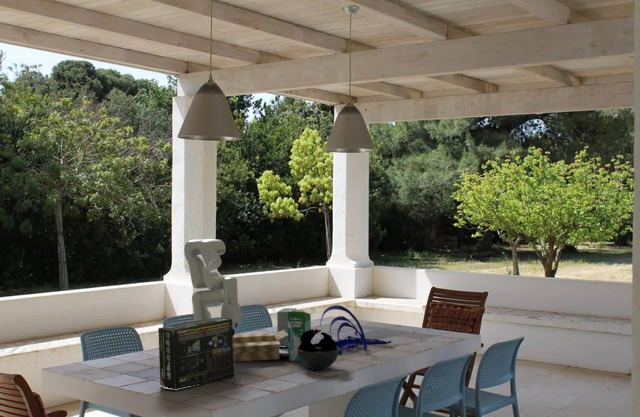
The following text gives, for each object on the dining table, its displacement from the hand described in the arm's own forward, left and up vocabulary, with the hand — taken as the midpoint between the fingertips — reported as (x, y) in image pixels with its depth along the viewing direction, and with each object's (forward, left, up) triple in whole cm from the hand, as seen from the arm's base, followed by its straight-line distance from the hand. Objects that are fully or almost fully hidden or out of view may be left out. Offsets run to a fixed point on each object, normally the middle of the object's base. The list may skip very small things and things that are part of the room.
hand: (231, 336), depth 385 cm
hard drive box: (+32, +25, -11) cm, 43 cm away
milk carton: (+33, -13, -11) cm, 38 cm away
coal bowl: (+38, -37, -11) cm, 54 cm away
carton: (+11, 0, -11) cm, 16 cm away
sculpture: (+63, +10, -12) cm, 65 cm away
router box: (-19, -48, -11) cm, 52 cm away
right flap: (+23, 0, -1) cm, 23 cm away
